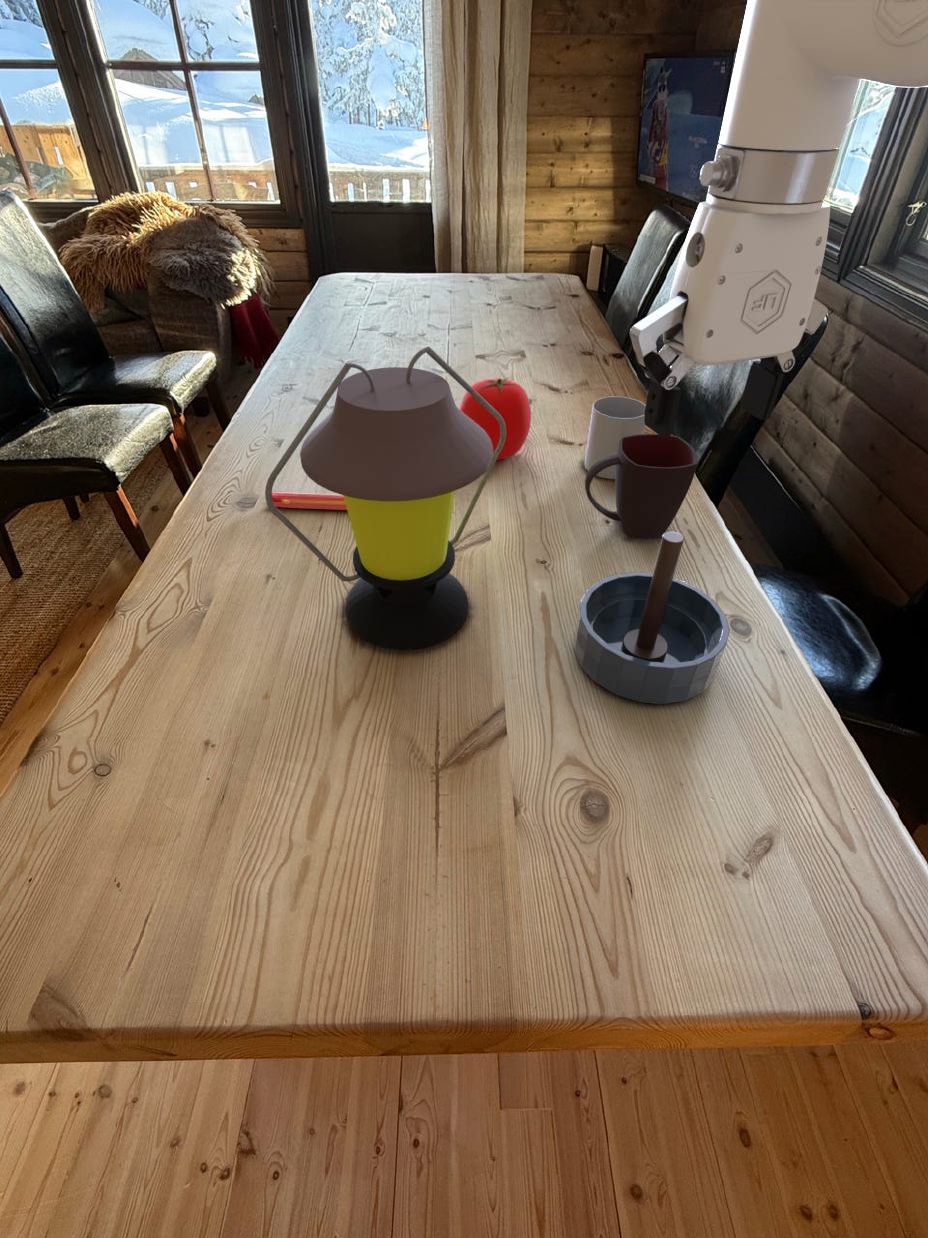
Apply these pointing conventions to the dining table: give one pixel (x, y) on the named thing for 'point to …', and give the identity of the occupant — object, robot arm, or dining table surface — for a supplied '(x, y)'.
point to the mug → (647, 482)
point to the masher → (655, 604)
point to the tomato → (508, 404)
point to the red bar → (309, 500)
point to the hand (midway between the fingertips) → (706, 422)
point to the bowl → (685, 626)
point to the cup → (612, 429)
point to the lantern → (397, 495)
